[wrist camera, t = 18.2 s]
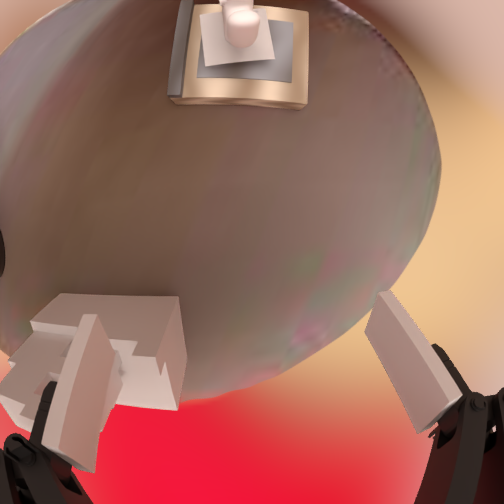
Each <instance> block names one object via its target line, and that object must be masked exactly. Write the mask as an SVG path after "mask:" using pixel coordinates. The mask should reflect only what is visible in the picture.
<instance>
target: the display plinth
mask: <svg viewBox="0 0 504 504" xmlns="http://www.w3.org/2000/svg"><path fill="white" fill-rule="evenodd" d="M256 8H265V9H266V14H267V19H268V24H269V29H270V34H271V40H272V45H273V51H274V56H275V59H268V60H254V61H243V62H234V63H226V64H219V65H212V66H206V67H205V60H204V52H203V43H202V34H201V25H200V15H201V14H208V13H214V12H222V6H220V4H206V5H194V1H193V0H181V3H180V8H179V13H178V19H177V24H176V30H175V36H174V43H173V50H172V57H171V64H170V72H169V81H168V90H167V96H168V97H169V98H170V99H171V100H172V101H173V102H174V103H175V104H176V105H190V104H220V105H247V106H262V107H274V108H285V109H294V110H301V109H302V108H303V107H304V106H305V105H307V95H308V47H309V21H308V12H305V11H299V10H293V9H285V8H277V7H268V6H256V5H253V9H256Z"/></svg>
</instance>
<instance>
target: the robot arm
mask: <svg viewBox="0 0 504 504" xmlns="http://www.w3.org/2000/svg"><path fill="white" fill-rule="evenodd" d="M4 264H5V252H4V244H3V240H2V236H1V232H0V277H1V275H2V273H3V270H4ZM365 334H366V336H367V337H368V339H369V341H370V343H371V344H372V346H373V348H374V350H375V352H376V354H377V355H378V357H379V359H380V361H381V363H382V365H383V367H384V369H385V370H386V372H387V374H388V376H389V378H390V380H391V382H392V384H393V386H394V387H395V389H396V392H397V393H398V395H399V397H400V399H401V401H402V403H403V405H404V407H405V409H406V411H407V413H408V415H409V418H410V420H411V422H412V424H413V426H414V428H415V430H416V432H417V434H419V433H421V432H423V431H425V430H427V429H429V428H431V427H432V426H433V425H434V424H435V423H436V422H438V424H439V425H438V426H437V427H436V428H435V429H434V430H433V431H432V432H431V433H430V434H429V436H428V437H429V438H430V437H431V436H433V435H434V434H435V436H434V437H433V439H434V441H433V445H432V449H431V453H430V457H429V461H428V464H427V467H426V471H425V474H424V477H423V480H422V483H421V486H420V489H419V491H418V494H417V497H416V499H415V502H414V504H504V388H502V389H501V390H500V391H499V392H498V393H497V394H496V395H490V396H483V395H482V394H480V393H478V392H472V391H471V390H470V389H469V387H468V386H467V384H466V383H465V381H464V380H463V378H462V377H461V375H460V373H459V372H458V370H457V369H456V367H454V364H453V363H452V361H451V360H449V359H450V358H449V357H448V356H447V354H446V353H445V351H444V350H443V349H442V348H441V347H439V346H438V345H437V344H433V345H430V343H429V342H428V341H427V339H426V338H425V336H424V335H423V333H422V332H421V331H420V329H419V328H418V326H417V325H416V324H415V322H414V321H413V319H412V318H411V317H410V315H409V314H408V313H407V311H406V310H405V309H404V307H403V306H402V305H401V303H400V302H399V301H398V300H397V298H396V297H395V295H394V294H393V293H392V291H391V290H389V291H383V292H378V294H377V297H376V300H375V303H374V306H373V309H372V312H371V315H370V318H369V321H368V323H367V326H366V329H365ZM114 358H115V352H114V350H113V348H112V346H111V343H110V341H109V339H108V337H107V335H106V333H105V331H104V328H103V326H102V324H101V322H100V319H99V317H98V315H97V314H83V317H82V319H81V321H80V324H79V326H78V328H77V331H76V333H75V336H74V338H73V341H72V343H71V346H70V349H69V351H68V354H67V357H66V359H65V362H64V365H63V368H62V371H61V374H60V377H59V380H58V382H56V381H50V382H49V383H48V384H47V386H46V387H45V388H44V390H43V393H42V396H41V399H40V400H41V402H40V403H39V406H38V410H37V413H36V416H35V420H34V424H33V427H32V431H31V436H30V439H29V441H28V440H27V439H26V438H24V437H23V436H22V435H21V434H17V433H14V434H11V435H9V436H8V437H7V438H6V440H5V442H4V450H2V449H0V504H93V502H92V501H91V499H90V498H89V497H88V495H87V494H86V492H85V490H84V489H83V487H82V486H81V484H80V483H79V481H78V479H77V478H76V476H75V474H74V473H73V472H72V471H71V468H72V466H74V467H75V468H77V469H79V470H82V471H87V472H91V473H95V464H96V456H97V448H98V440H99V434H100V427H101V421H102V415H103V409H104V404H105V399H106V394H107V389H108V384H109V379H110V375H111V370H112V366H113V362H114ZM495 425H496V431H495V432H493V430H492V428H493V427H494V426H495Z"/></svg>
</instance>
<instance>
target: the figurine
mask: <svg viewBox="0 0 504 504" xmlns="http://www.w3.org/2000/svg"><path fill="white" fill-rule="evenodd" d="M219 1H220V6H222V12H214V13H208V14H201V15H200V25H201V34H202V43H203V52H204V60H205V67H206V66H212V65H219V64H226V63H234V62H243V61H254V60H268V59H275V56H274V51H273V45H272V40H271V34H270V29H269V24H268V19H267V14H266V9H265V8H256V9H253V0H219Z"/></svg>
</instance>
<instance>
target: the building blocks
mask: <svg viewBox="0 0 504 504" xmlns="http://www.w3.org/2000/svg"><path fill="white" fill-rule="evenodd" d="M83 314H97V315H98V317H99V319H100V322H101V324H102V326H103V328H104V331H105V333H106V335H107V337H108V339H109V341H110V343H111V346H112V348H113V350H114V352H115V358H114V362H113V366H112V370H111V375H110V379H109V384H108V389H107V394H106V399H105V404H104V409H103V415H102V421H101V427H100V432H102V431H103V428H104V426H105V423H106V420H107V418H108V415H109V413H110V411H111V409H113V408H114V406H115V404H121V405H128V406H136V407H144V408H155V409H165V410H178V405H179V400H180V394H181V389H182V384H183V379H184V374H185V369H186V364H187V359H188V358H187V352H186V346H185V340H184V333H183V326H182V319H181V312H180V304H179V296H120V295H90V294H68V293H60V294H59V295H58V296H57V297H55V298H54V299H53V300H52V301H51V302H50V303H49V304H48V305H47V306H45V307H44V308H43V309H42V310H41V311H40V312H39V313H38V314H37V315H36V316H35V317H33V318H32V319H31V320H30V323H31V325H32V328H33V331H34V332H33V333H32V334H31V335H30V337H29V338H28V339H27V340H26V341H25V342H24V343H23V344H22V345H21V346H20V347H19V348H18V349H17V350H16V352H15V353H14V354H13V355H12V356H11V357H10V358H9V359H8V362H9V364H10V367H11V370H10V372H9V373H8V374H7V375H6V377H5V378H4V379H3V380H2V381H1V383H0V402H1V404H2V405H3V407H4V408H5V410H6V411H7V413H8V414H9V416H10V417H11V419H12V420H13V421H14V423H15V424H16V426H18V427H20V428H23V429H25V430H27V431H30V432H31V431H32V427H33V424H34V420H35V416H36V413H37V410H38V406H39V403H40V402H41V400H40V399H41V396H42V393H43V390H44V388H45V387H46V386H47V384H48V383H49V382H50V381H56V382H58V380H59V377H60V374H61V371H62V368H63V365H64V362H65V359H66V357H67V354H68V351H69V349H70V346H71V343H72V341H73V338H74V336H75V333H76V331H77V328H78V326H79V324H80V321H81V319H82V317H83Z"/></svg>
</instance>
